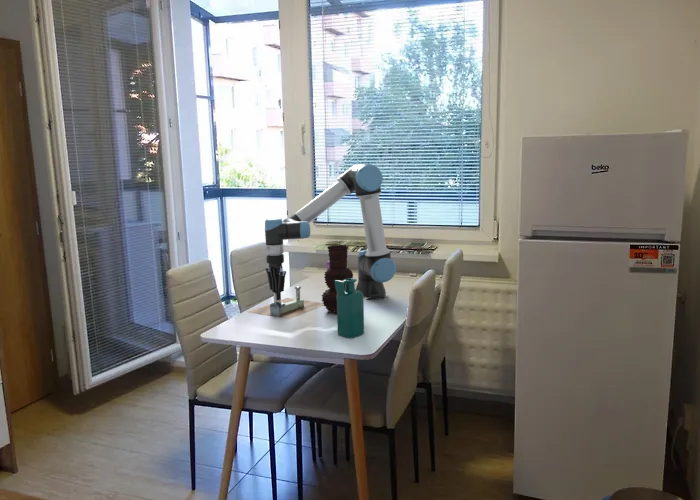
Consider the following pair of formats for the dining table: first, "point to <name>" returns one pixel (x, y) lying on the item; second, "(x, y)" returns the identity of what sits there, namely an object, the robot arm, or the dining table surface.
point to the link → (292, 305)
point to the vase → (335, 275)
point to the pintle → (297, 292)
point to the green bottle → (349, 309)
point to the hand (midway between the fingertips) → (277, 306)
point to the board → (289, 314)
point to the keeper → (276, 309)
